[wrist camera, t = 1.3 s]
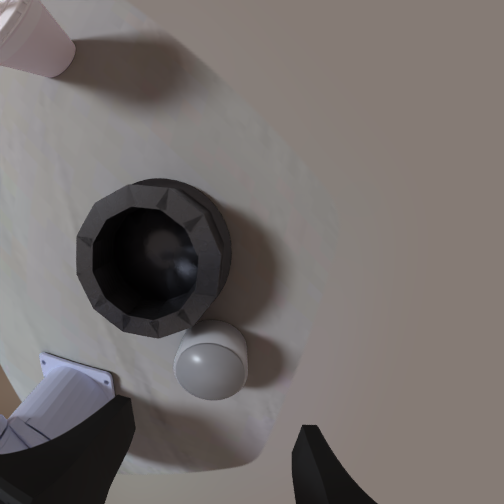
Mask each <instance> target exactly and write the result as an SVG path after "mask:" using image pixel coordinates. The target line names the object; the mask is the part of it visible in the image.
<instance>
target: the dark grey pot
mask: <svg viewBox="0 0 504 504" xmlns="http://www.w3.org/2000/svg"><path fill="white" fill-rule="evenodd" d="M231 254H232V250H231V240H230V235H229V231H228V228H227V226H226V223H225V221H224V219H223V217H222V215H221V213H220V212H219V210H218V209H217V207H216V206H215V205H214V204H213V203H212V202H211V200H210V199H209V198H208V197H206V196H205V195H204V194H203V193H202V192H200V191H199V190H197V189H196V188H194V187H192V186H190V185H188V184H186V183H183V182H179V181H176V180H170V179H157V178H155V179H147V180H143V181H139V182H136V183H134V184H132V185H127V186H125V187H123V188H121V189H119V190H117V191H115V192H114V193H112V194H110V195H108V196H106V197H105V198H103V199H101V200H99V201H97V202H96V203H95V204H94V205H93V207H92V209H91V211H90V212H89V214H88V216H87V218H86V220H85V221H84V223H83V225H82V227H81V229H80V231H79V233H78V235H77V248H76V265H77V276H78V278H79V280H80V282H81V284H82V287H83V289H84V291H85V293H86V295H87V297H88V299H89V301H90V303H91V305H92V307H93V309H95V310H96V311H97V312H98V313H100V314H101V315H102V316H103V317H105V318H106V319H107V320H108V321H110V322H111V323H112V324H114V325H115V326H116V327H117V328H119V329H120V330H121V331H123V332H127V333H132V334H137V335H142V336H147V337H153V338H158V339H159V338H162V337H165V336H168V335H171V334H173V333H176V332H179V331H182V330H185V329H188V328H190V327H193V326H194V325H195V323H196V322H197V321H198V320H199V318H200V317H201V316H202V314H203V313H204V312H205V311H206V309H207V308H208V307H209V306H210V304H211V303H212V302H213V301H214V300H215V299H216V298H217V296H218V295H219V293H220V292H221V290H222V288H223V286H224V284H225V282H226V280H227V277H228V274H229V270H230V265H231Z"/></svg>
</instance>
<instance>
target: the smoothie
mask: <svg viewBox="0 0 504 504" xmlns="http://www.w3.org/2000/svg"><path fill="white" fill-rule="evenodd" d="M75 50H76V48H75V44H74V43H73V42H72V40H71V39H70V38H69V37H68V35H67V34H66V33H65V32H64V30H63V29H62V28H61V27H60V25H59V24H58V23H57V22H56V20H55V19H54V18H53V17H52V15H51V14H50V13H49V12H48V10H47V9H46V8H45V6H44V5H43V4H42V3H41V1H40V0H0V66H5V67H9V68H13V69H18V70H22V71H26V72H29V73H33V74H37V75H41V76H44V77H48V78H52V77H55V76H58V75H59V74H61V73H62V72H63V71H64V70H65V69H66V68H67V67H68V66H69V65H70V63H71V62H72V60H73V58H74V55H75Z"/></svg>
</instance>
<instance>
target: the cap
mask: <svg viewBox="0 0 504 504" xmlns="http://www.w3.org/2000/svg"><path fill="white" fill-rule="evenodd" d="M173 367H174V374H175V377H176V379H177V381H178V382H179V384H180V385H181V386H182V387H183V388H184V389H185V390H186V391H187V392H189V393H190V394H192V395H194V396H196V397H198V398H201V399H205V400H221V399H225V398H228V397H230V396H232V395H234V394H236V393H237V392H239V391H240V390H241V389H242V387H243V386H244V385H245V383H246V380H247V377H248V361H247V345H246V341H245V339H244V337H243V335H242V334H241V333H240V331H239V330H237V329H236V328H235V327H234V326H232V325H230V324H228V323H226V322H223V321H219V320H205V321H201V322H198V323H196V324H195V325H194V326H193V327H190V328H189V329H188V330H187V331H186V333H185V334H184V336H183V339H182V341H181V344H180V347H179V349H178V352H177V355H176V357H175V360H174V366H173Z"/></svg>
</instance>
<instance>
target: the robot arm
mask: <svg viewBox="0 0 504 504" xmlns="http://www.w3.org/2000/svg"><path fill="white" fill-rule="evenodd" d="M39 358H40V362H41V367H42V371H43V375H44V379H43V380H42V381H41V382H40V383H39V384H38V385H37V386H36V388H35V389H34V390H33V391H32V392H31V393H30V394H29V395H28V396H27V398H26V399H25V400H24V401H23V402H22V403H21V404H20V406H19V407H18V408H17V409H16V410H15V412H13V414H12V415H11V416H10V417H9V418H8V419H7V420H6V418H5V417H4V416H3V415H1V414H0V504H104V503H105V500H106V497H107V494H108V491H109V488H110V486H111V484H112V482H113V480H114V477H115V475H116V473H117V471H118V469H119V467H120V465H121V463H122V461H123V459H124V457H125V455H126V453H127V451H128V449H129V447H130V444H131V441H132V438H133V435H134V432H135V429H136V428H135V422H134V416H133V410H132V404H131V398H128V397H124V396H121V395H116V396H115V392H114V385H113V377H112V375H111V374H110V373H109V372H106V371H103V370H99V369H95V368H92V367H88V366H85V365H81V364H78V363H75V362H72V361H68V360H65V359H62V358H59V357H56V356H53V355H50V354H47V353H45V352H41V353H40V354H39ZM106 380H107V381H108V382H109V383H108V382H107V381H106ZM292 478H293V485H294V493H295V500H296V504H377V503H376V502H375V501H374V500H373V499H372V498H371V497H369V496H368V495H367V494H366V493H365V492H364V491H363V490H362V489H361V488H360V487H359V486H358V485H357V483H356V482H355V481H354V480H353V479H352V478H351V476H350V475H349V474H348V473H347V471H346V470H345V469H344V468H343V466H342V465H341V463H340V462H339V460H338V459H337V457H336V456H335V455H334V453H333V451H332V450H331V448H330V447H329V445H328V443H327V442H326V440H325V438H324V436H323V435H322V433H321V431H320V429H319V427H318V426H317V425H302V427H301V430H300V433H299V435H298V438H297V441H296V443H295V446H294V448H293V451H292Z"/></svg>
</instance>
